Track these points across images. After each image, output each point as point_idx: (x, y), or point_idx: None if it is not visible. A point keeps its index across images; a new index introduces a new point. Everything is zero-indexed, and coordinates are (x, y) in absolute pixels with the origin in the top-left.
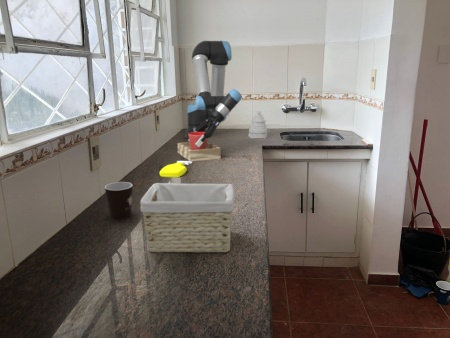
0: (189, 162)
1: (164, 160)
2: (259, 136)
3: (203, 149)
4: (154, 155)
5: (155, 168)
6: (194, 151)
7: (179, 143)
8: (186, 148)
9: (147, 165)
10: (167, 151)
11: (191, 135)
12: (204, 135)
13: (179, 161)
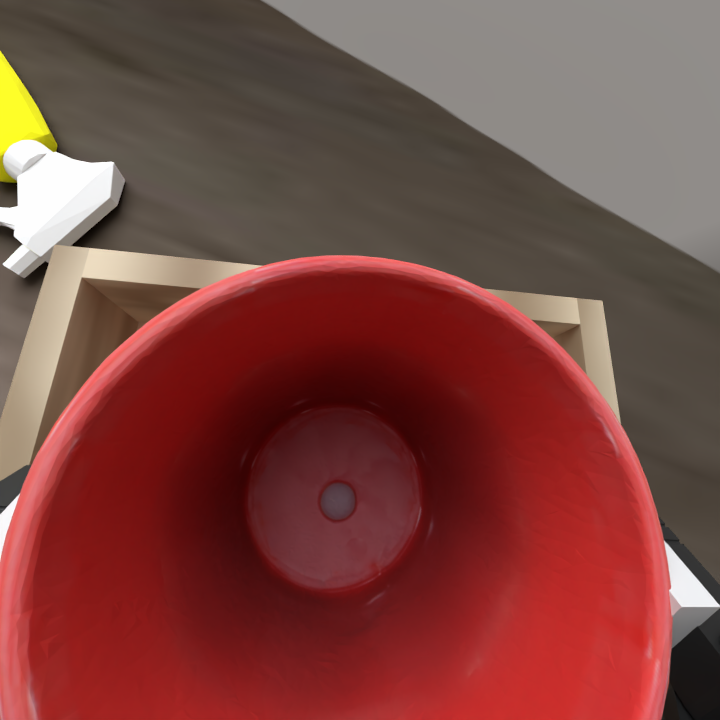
0: (18, 249)
1: (294, 145)
2: None
3: (11, 458)
4: (492, 148)
5: (91, 15)
6: (44, 309)
7: (574, 313)
8: (236, 268)
9: (211, 10)
10: (604, 280)
11: (247, 278)
12: (2, 664)
13: (78, 170)
